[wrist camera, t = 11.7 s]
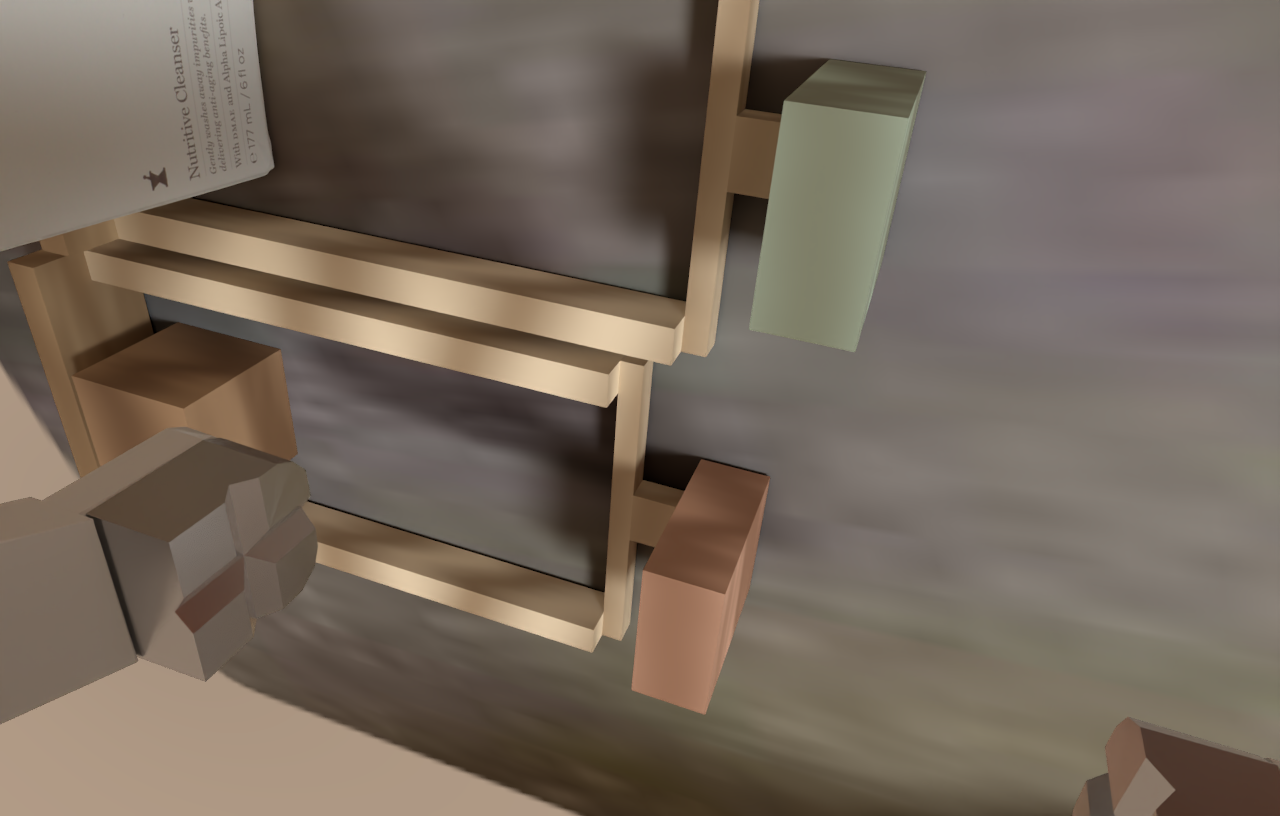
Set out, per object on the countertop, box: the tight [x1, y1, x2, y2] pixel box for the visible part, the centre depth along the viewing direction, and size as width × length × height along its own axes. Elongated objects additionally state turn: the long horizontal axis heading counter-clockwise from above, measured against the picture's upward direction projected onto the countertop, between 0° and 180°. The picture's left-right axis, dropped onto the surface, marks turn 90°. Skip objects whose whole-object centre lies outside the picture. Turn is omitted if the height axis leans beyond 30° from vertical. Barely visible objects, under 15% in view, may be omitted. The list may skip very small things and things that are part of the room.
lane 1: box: [40, 0, 926, 365], centre depth 23 cm, size 27×12×6 cm, turn 86°
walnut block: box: [72, 322, 298, 467], centre depth 33 cm, size 5×5×5 cm
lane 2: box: [7, 239, 770, 714], centre depth 30 cm, size 27×12×6 cm, turn 86°
